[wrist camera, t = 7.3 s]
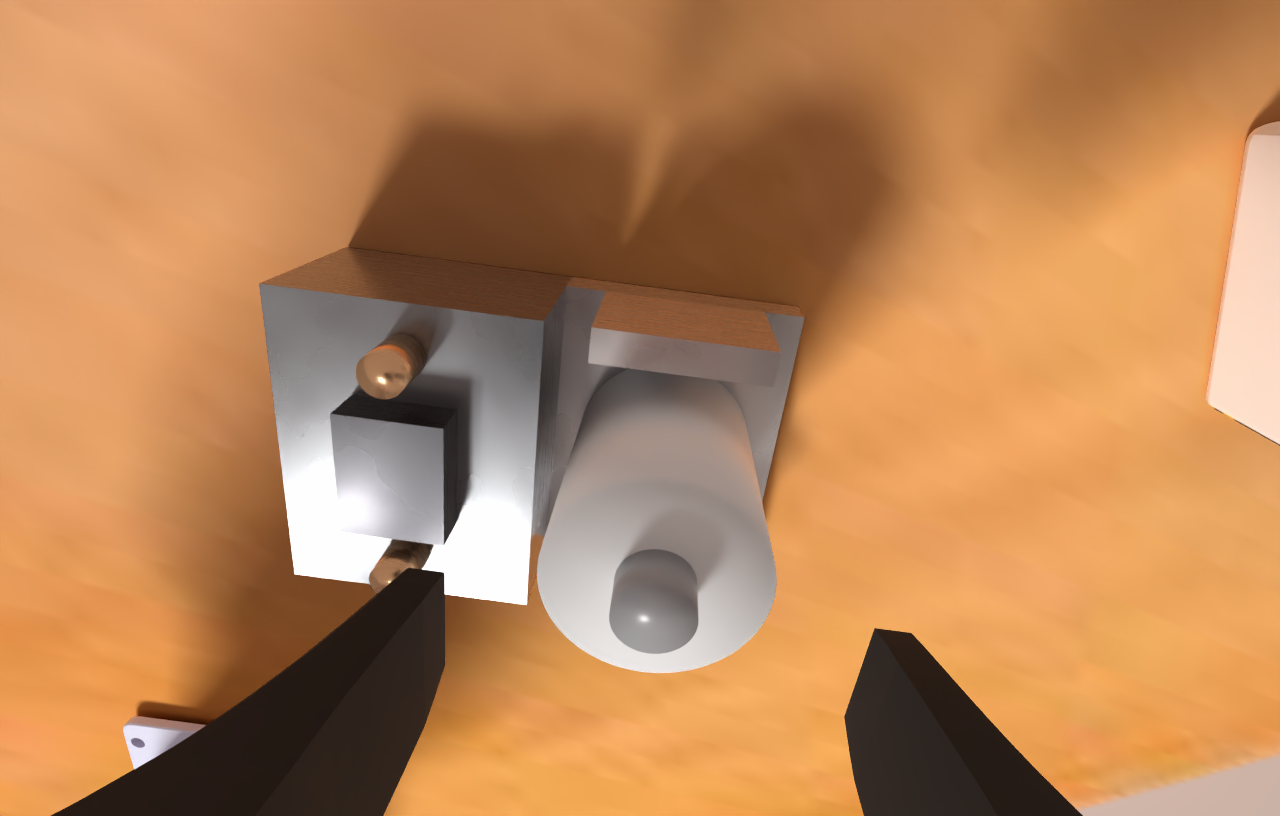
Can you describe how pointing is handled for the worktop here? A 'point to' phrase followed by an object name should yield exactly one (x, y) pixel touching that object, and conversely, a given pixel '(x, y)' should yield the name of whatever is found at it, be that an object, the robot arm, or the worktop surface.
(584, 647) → the white cylinder
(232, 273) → the worktop surface
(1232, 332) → the medicine bottle
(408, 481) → the grey tray
